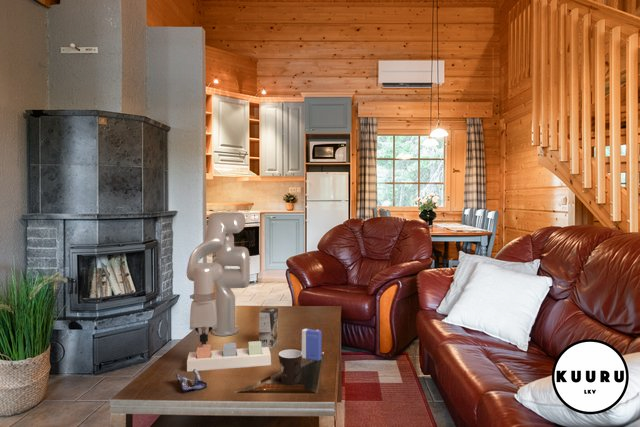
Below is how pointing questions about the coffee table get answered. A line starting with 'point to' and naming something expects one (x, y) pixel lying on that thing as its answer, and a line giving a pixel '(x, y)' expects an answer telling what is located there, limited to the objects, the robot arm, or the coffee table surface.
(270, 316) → the coffee box
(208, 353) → the terracotta button
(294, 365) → the coffee mug
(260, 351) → the sage-green button
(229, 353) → the slate-grey button
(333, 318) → the coffee table surface
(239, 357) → the button console
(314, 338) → the walkman
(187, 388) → the snack package
